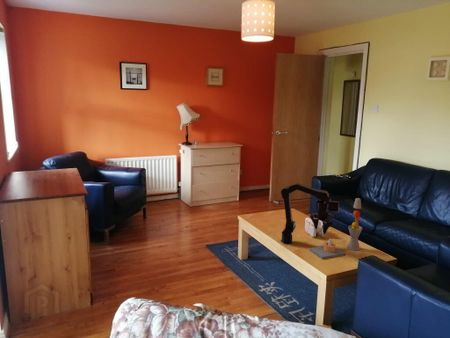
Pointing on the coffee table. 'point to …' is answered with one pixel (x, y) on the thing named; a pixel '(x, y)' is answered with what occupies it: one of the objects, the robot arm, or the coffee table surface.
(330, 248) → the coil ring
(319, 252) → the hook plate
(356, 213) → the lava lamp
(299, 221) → the coffee table surface
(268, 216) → the coffee table surface
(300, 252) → the coffee table surface
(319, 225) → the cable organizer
